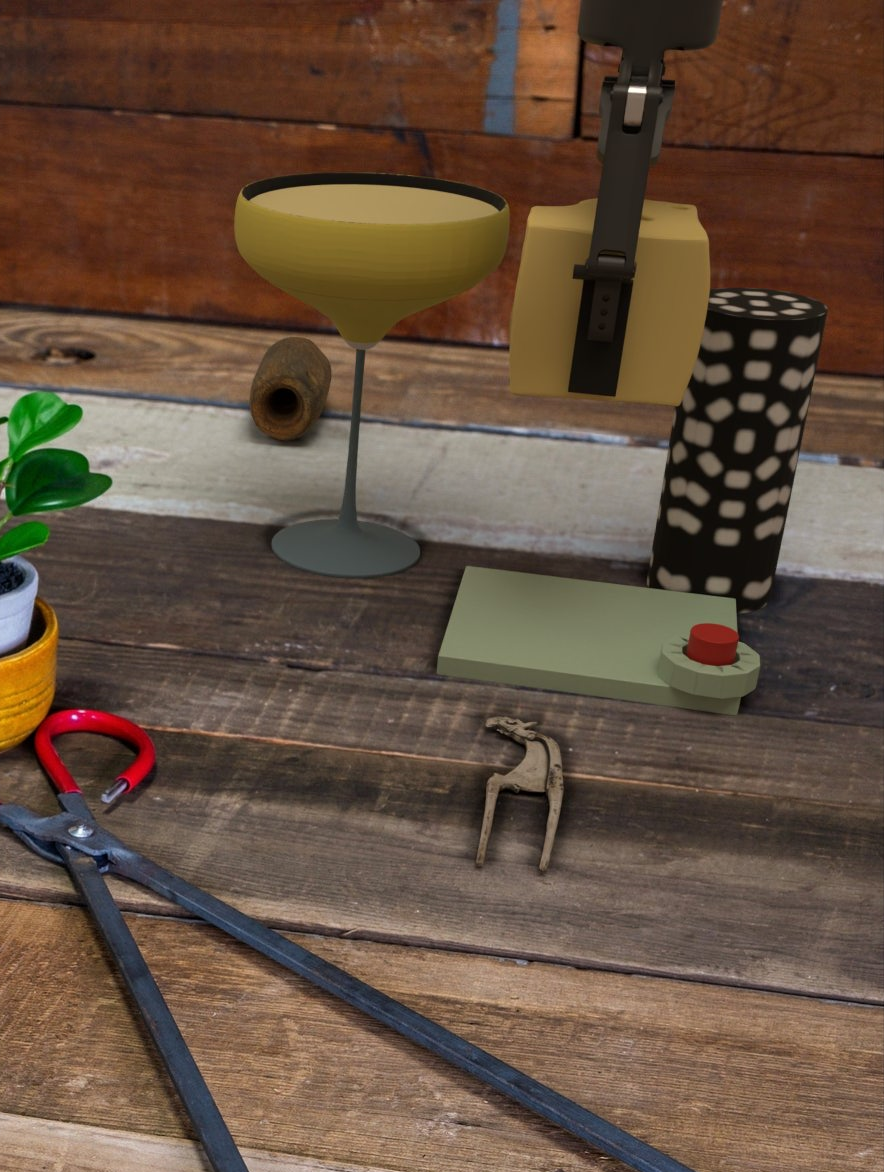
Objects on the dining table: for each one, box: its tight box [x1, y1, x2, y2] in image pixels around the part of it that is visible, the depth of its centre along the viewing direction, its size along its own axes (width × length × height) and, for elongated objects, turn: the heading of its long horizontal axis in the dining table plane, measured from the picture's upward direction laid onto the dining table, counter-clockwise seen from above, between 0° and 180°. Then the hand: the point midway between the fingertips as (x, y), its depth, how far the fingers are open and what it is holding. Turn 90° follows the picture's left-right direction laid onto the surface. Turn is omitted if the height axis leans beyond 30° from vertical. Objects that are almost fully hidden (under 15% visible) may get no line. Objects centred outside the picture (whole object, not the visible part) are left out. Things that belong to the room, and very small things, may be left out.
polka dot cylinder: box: [646, 287, 829, 615], centre depth 112 cm, size 8×8×20 cm
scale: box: [435, 565, 761, 716], centre depth 108 cm, size 19×16×3 cm
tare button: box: [686, 623, 740, 666], centre depth 101 cm, size 3×3×2 cm
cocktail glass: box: [233, 171, 511, 579], centre depth 116 cm, size 18×18×25 cm
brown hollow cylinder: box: [249, 336, 333, 442], centre depth 147 cm, size 15×7×7 cm, turn 175°
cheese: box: [508, 197, 711, 407], centre depth 100 cm, size 10×11×10 cm
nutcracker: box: [475, 716, 565, 872], centre depth 91 cm, size 16×1×5 cm
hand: (596, 367), depth 102 cm, fingers closed on cheese, 10 cm apart
